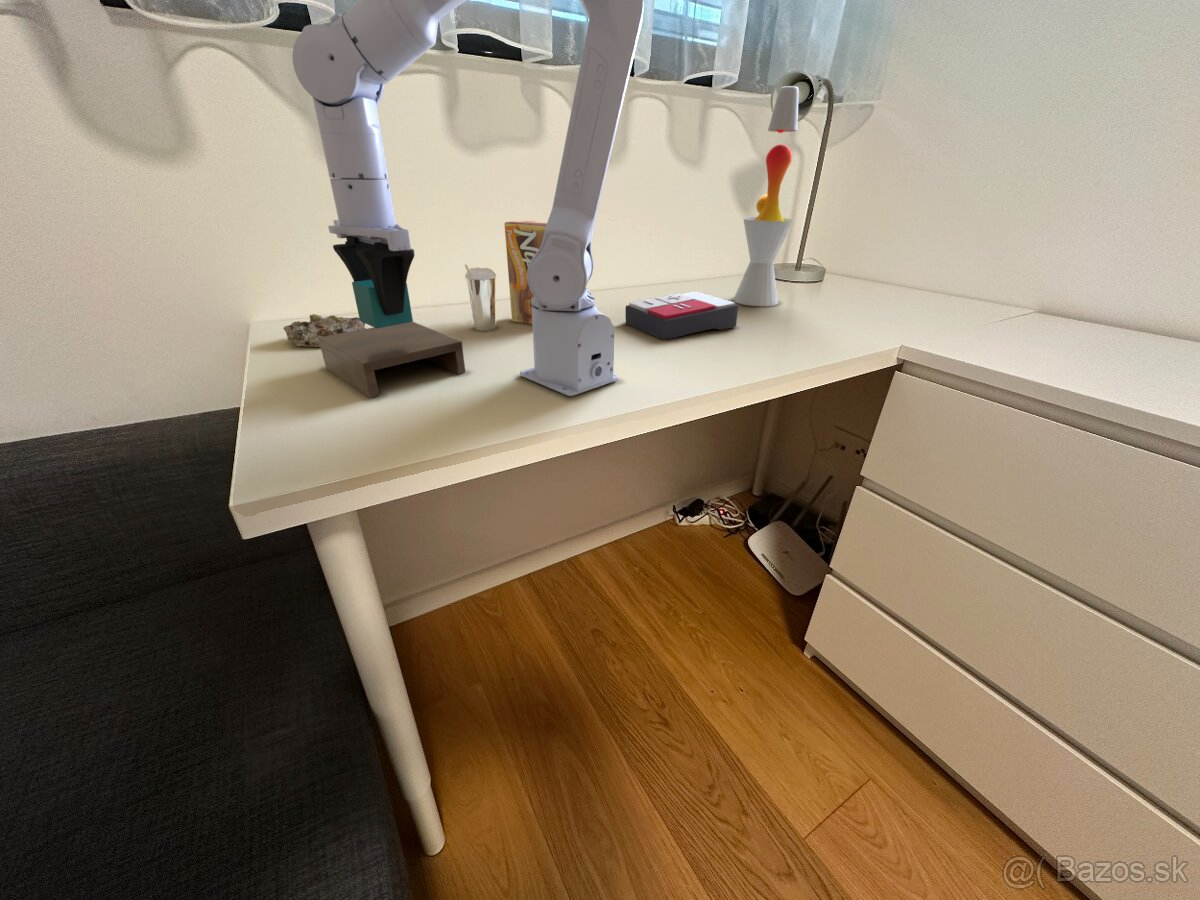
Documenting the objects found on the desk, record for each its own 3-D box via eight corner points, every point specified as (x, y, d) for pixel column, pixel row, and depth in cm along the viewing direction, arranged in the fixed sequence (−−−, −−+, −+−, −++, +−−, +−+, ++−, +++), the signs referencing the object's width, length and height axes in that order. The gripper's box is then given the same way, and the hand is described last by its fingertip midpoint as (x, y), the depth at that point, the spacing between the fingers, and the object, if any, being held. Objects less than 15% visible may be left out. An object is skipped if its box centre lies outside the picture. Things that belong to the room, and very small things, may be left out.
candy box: (569, 322, 85) (567, 222, 78) (557, 328, 82) (554, 224, 74) (523, 316, 88) (517, 219, 81) (510, 322, 85) (503, 221, 77)
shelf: (465, 372, 63) (462, 341, 62) (370, 398, 56) (363, 363, 54) (415, 349, 71) (410, 320, 70) (325, 368, 64) (317, 337, 62)
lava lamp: (788, 305, 98) (830, 84, 82) (745, 307, 97) (779, 81, 80) (764, 295, 106) (798, 91, 89) (724, 297, 104) (751, 89, 87)
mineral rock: (286, 336, 68) (277, 307, 72) (293, 364, 71) (283, 335, 75) (372, 328, 73) (358, 302, 78) (375, 354, 76) (361, 327, 81)
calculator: (624, 300, 83) (695, 287, 90) (624, 326, 86) (694, 312, 92) (665, 315, 75) (740, 300, 82) (664, 344, 77) (737, 326, 84)
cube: (413, 321, 61) (406, 282, 59) (376, 328, 58) (368, 287, 56) (395, 314, 64) (389, 277, 61) (359, 320, 61) (351, 281, 59)
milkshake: (461, 330, 80) (453, 263, 75) (483, 322, 84) (477, 258, 79) (484, 334, 78) (477, 266, 73) (505, 326, 82) (500, 261, 78)
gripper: (295, 177, 55) (325, 303, 62) (349, 180, 47) (377, 328, 53) (359, 177, 60) (381, 295, 66) (420, 180, 51) (439, 316, 58)
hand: (384, 309), depth 60 cm, fingers closed on cube, 4 cm apart
